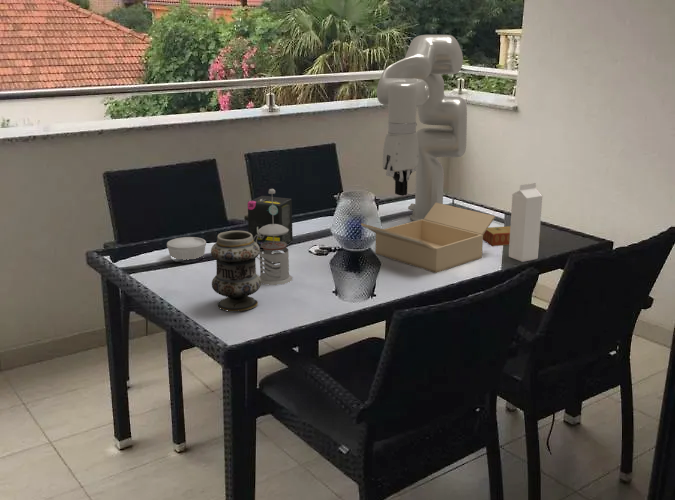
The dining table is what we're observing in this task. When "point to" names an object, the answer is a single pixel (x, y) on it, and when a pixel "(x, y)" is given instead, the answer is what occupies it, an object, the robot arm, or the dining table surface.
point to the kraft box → (446, 240)
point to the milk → (525, 223)
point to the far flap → (459, 218)
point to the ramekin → (186, 247)
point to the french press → (274, 254)
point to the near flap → (397, 236)
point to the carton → (498, 236)
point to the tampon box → (270, 217)
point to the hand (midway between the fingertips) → (401, 194)
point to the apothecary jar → (236, 270)
